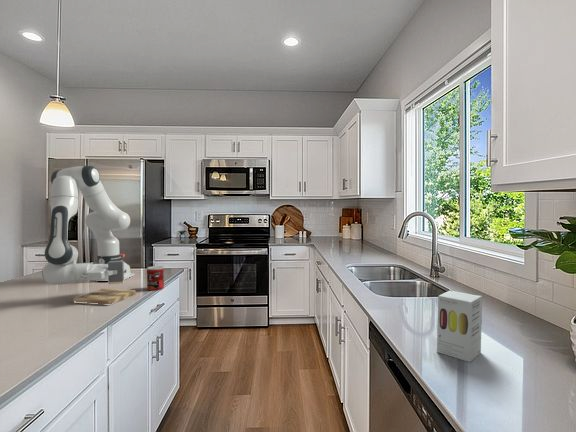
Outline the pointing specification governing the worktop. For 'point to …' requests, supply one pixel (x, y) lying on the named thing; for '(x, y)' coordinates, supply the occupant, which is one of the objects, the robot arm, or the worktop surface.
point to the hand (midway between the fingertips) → (118, 270)
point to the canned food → (155, 278)
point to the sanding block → (120, 269)
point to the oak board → (105, 296)
